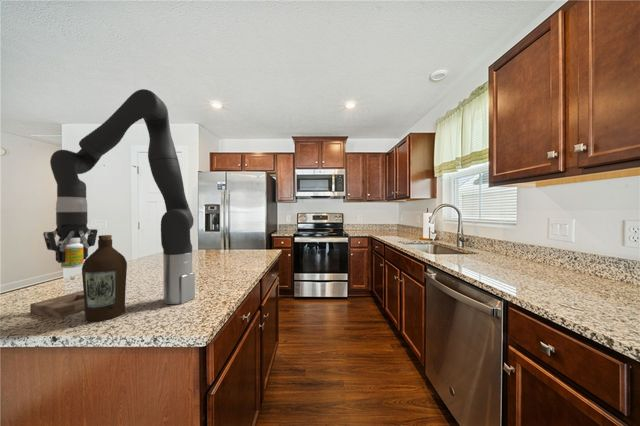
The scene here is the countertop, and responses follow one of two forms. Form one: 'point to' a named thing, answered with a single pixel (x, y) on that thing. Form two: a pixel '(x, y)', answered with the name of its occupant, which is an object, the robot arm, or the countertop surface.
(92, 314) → the olive oil
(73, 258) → the supplement bottle
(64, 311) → the socket board
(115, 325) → the countertop surface
